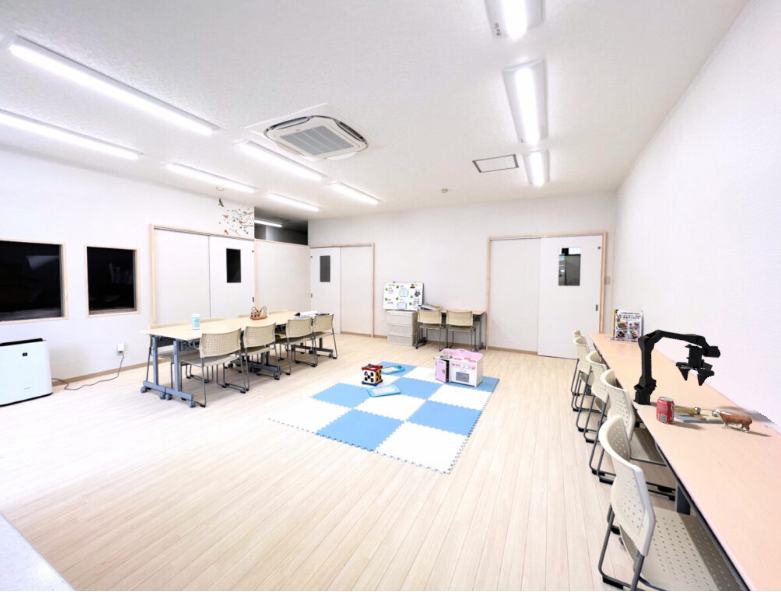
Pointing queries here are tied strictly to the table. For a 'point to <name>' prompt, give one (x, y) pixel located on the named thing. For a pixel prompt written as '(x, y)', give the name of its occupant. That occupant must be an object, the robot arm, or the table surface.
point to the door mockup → (699, 417)
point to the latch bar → (688, 410)
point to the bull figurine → (733, 420)
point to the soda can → (665, 410)
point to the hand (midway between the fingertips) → (692, 383)
